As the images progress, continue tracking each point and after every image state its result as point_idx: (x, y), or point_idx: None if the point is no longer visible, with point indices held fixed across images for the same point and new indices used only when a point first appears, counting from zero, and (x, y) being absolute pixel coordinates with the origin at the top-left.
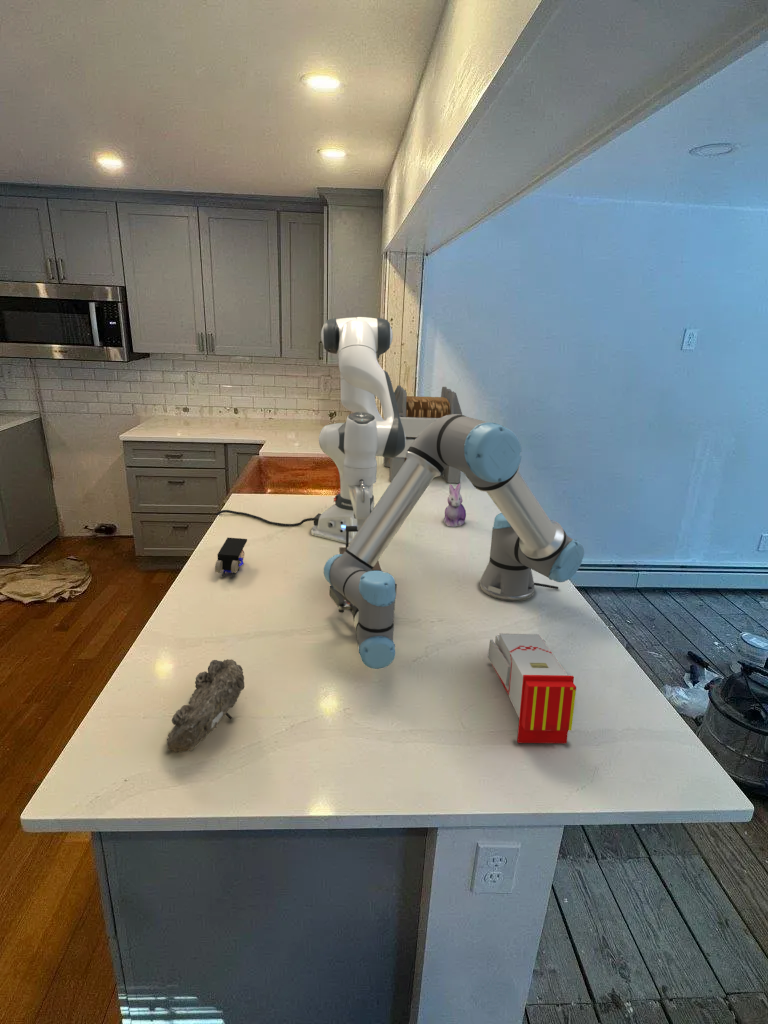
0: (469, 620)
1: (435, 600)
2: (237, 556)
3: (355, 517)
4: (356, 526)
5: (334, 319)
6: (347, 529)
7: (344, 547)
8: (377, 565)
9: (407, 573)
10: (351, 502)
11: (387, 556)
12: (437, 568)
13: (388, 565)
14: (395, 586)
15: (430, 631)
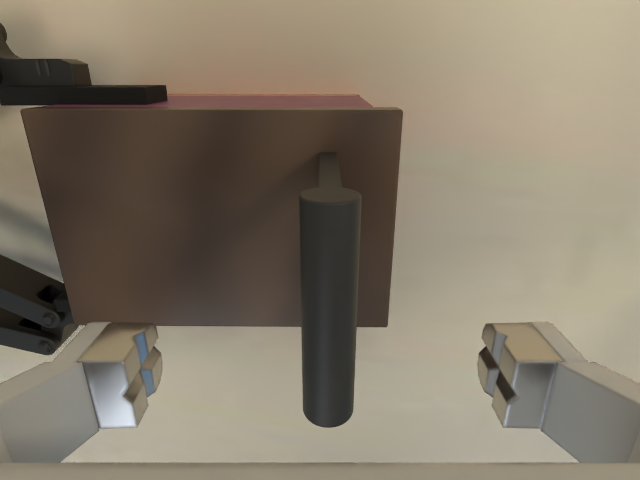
0: None
1: (203, 412)
2: None
3: (488, 338)
4: (322, 309)
5: None
6: (299, 211)
7: (395, 148)
8: (124, 314)
9: (407, 369)
10: (581, 477)
11: (575, 325)
12: (431, 460)
13: (489, 317)
14: (26, 347)
15: (7, 365)
